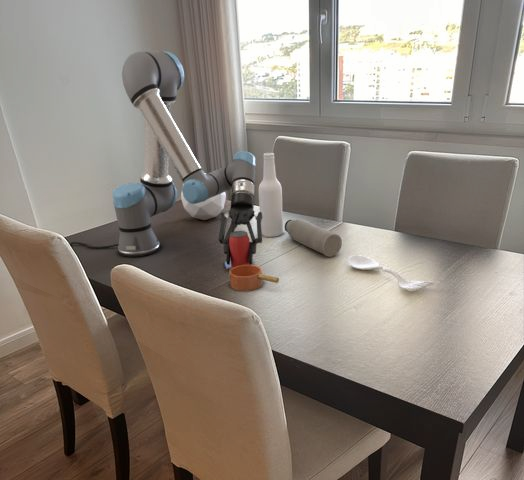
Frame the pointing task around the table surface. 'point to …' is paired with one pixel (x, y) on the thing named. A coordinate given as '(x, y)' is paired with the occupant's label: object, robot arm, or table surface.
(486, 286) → the table surface
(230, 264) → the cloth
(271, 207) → the alcohol
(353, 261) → the spoon
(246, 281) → the pan
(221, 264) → the table surface
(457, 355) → the table surface
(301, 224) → the thermos bottle
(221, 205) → the geometric orb
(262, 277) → the pan handle
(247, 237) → the beer can
